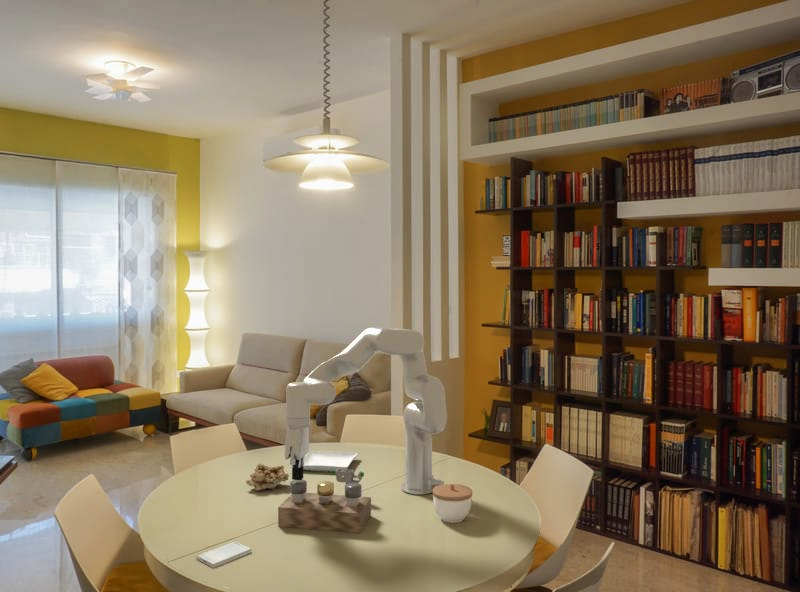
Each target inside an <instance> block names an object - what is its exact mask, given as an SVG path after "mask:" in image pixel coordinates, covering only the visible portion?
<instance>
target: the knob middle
mask: <svg viewBox="0 0 800 592" xmlns="http://www.w3.org/2000/svg"><path fill="white" fill-rule="evenodd" d="M316 491H317V492H316V493H317V494H318V495H319V504H325V505H330V504H331V503H332V495H335V483H334V482H332V481H328V480H325V481H319V482H317V484H316Z"/></svg>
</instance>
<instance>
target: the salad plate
mask: <svg viewBox="0 0 800 592" xmlns="http://www.w3.org/2000/svg"><path fill="white" fill-rule="evenodd" d="M358 456H359V453H358V452H351V451H335V450H334V451H330V450H329V451H327V450H326V451H325V450H310V451H308V453H307V454H306V455H305V457H304V465H303V471H309V470H310V471H312V472H313V471H314V472H328V471H330V472H331V473H332V472H333V471H335V470H337V469H349V466H350V465H351V464H352V462H354V460H355V459H356V458H357V457H358ZM333 473H334V472H333Z"/></svg>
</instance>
